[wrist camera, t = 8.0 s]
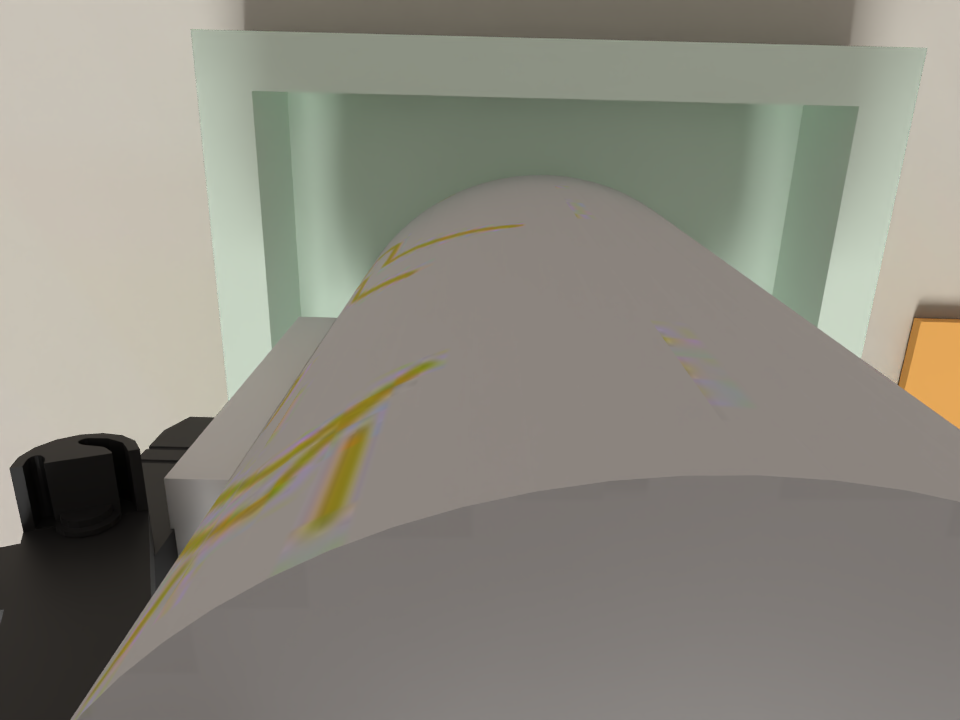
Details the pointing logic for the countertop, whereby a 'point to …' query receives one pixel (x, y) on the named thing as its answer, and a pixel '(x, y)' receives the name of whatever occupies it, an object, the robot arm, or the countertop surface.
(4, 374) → the countertop surface
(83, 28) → the countertop surface
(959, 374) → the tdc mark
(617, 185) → the tray
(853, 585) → the cup
